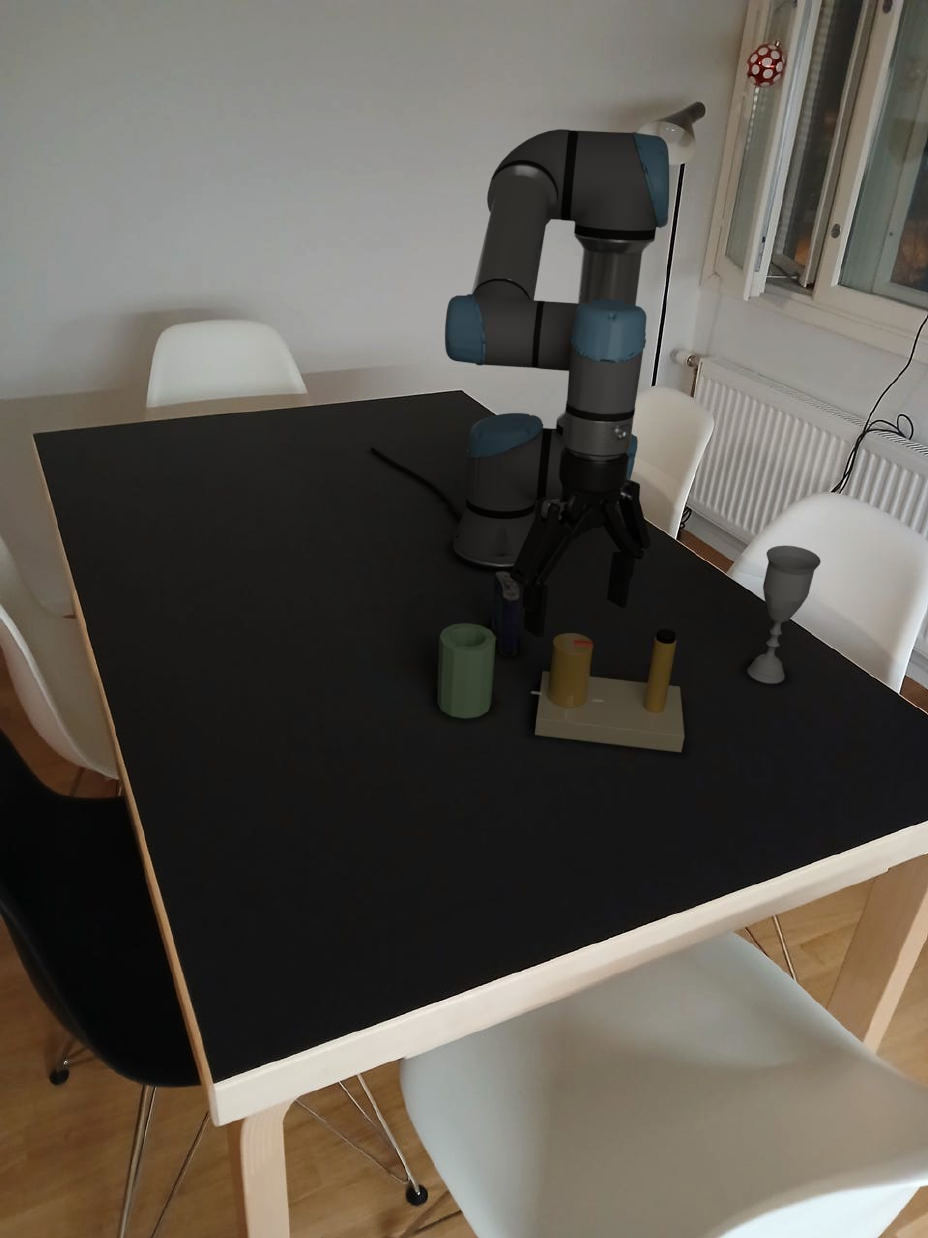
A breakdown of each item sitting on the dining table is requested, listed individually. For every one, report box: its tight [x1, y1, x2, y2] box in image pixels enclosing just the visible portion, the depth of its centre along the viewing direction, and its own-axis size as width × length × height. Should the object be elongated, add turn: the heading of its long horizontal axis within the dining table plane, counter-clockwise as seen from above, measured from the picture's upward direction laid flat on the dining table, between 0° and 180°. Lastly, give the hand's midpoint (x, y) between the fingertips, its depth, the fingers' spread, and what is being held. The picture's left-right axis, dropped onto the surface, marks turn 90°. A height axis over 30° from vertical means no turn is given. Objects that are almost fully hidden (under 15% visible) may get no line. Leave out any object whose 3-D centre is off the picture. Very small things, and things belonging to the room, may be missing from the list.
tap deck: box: [530, 670, 685, 753], centre depth 123 cm, size 19×11×3 cm, turn 81°
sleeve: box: [436, 622, 497, 720], centre depth 123 cm, size 7×7×10 cm
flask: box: [491, 571, 521, 657], centre depth 137 cm, size 9×3×11 cm, turn 8°
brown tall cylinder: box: [644, 628, 677, 713], centre depth 119 cm, size 3×3×12 cm
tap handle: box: [548, 632, 594, 708], centre depth 121 cm, size 5×5×8 cm
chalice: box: [746, 545, 822, 684], centre depth 130 cm, size 7×7×18 cm
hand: (576, 617), depth 117 cm, fingers open, 13 cm apart
